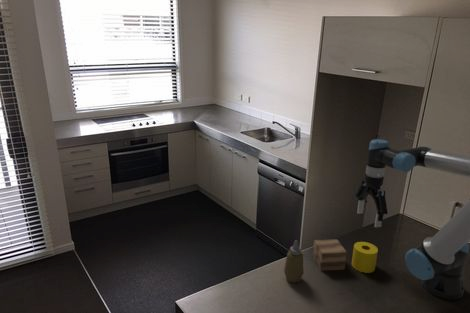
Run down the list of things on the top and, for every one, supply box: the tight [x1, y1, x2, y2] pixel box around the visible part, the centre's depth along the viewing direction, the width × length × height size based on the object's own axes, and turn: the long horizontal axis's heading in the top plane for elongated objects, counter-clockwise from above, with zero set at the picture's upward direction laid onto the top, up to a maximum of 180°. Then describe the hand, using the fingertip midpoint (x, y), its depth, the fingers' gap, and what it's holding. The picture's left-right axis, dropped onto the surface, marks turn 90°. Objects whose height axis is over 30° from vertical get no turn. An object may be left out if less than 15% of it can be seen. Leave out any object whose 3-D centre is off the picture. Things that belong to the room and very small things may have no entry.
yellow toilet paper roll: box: [351, 241, 379, 274], centre depth 160 cm, size 10×10×9 cm
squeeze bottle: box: [283, 240, 304, 284], centre depth 149 cm, size 8×8×18 cm
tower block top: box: [312, 238, 348, 262], centre depth 162 cm, size 11×11×4 cm
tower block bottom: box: [312, 248, 347, 272], centre depth 163 cm, size 11×11×4 cm
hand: (368, 219), depth 162 cm, fingers open, 13 cm apart
